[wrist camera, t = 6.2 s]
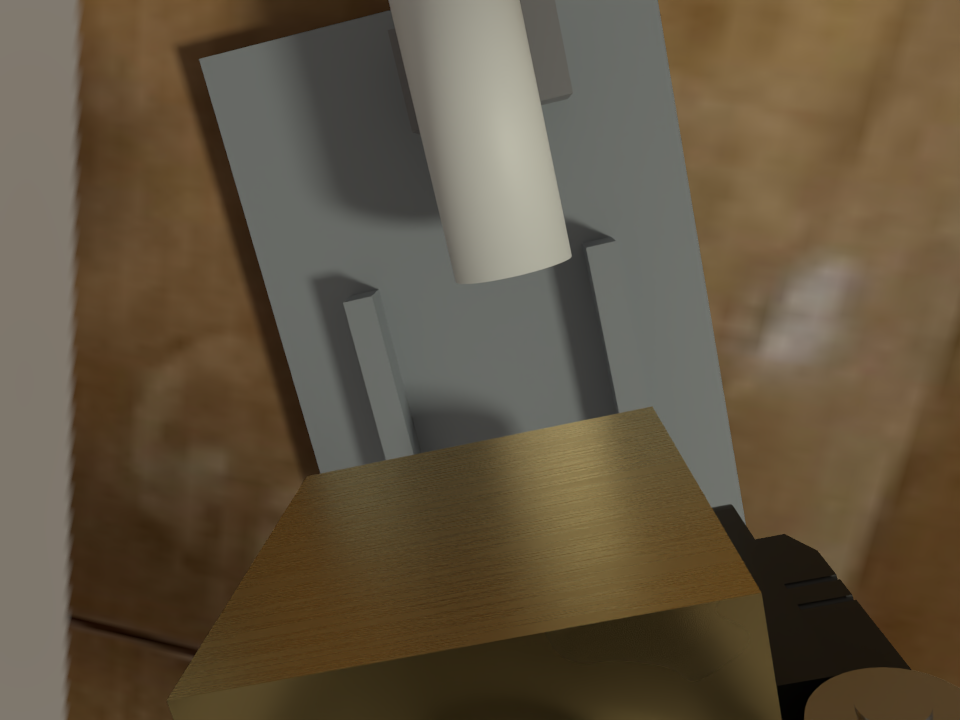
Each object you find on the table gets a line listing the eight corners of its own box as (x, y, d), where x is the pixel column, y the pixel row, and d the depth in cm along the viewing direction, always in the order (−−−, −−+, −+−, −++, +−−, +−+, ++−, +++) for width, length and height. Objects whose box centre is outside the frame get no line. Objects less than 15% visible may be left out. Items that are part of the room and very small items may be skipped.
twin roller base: (758, 638, 26) (826, 768, 21) (398, 704, 27) (369, 845, 22) (636, -78, 21) (682, -162, 16) (203, 34, 22) (102, -8, 17)
